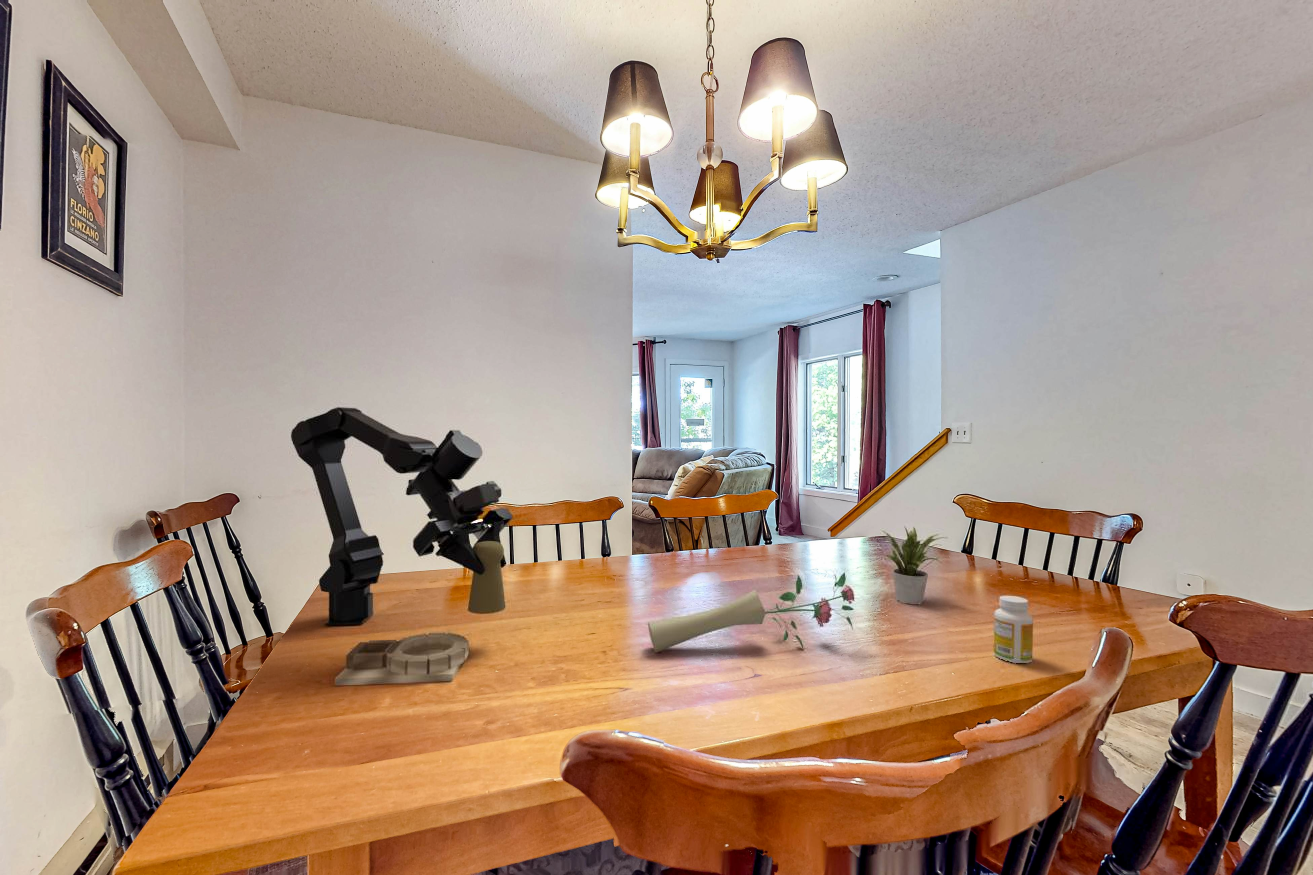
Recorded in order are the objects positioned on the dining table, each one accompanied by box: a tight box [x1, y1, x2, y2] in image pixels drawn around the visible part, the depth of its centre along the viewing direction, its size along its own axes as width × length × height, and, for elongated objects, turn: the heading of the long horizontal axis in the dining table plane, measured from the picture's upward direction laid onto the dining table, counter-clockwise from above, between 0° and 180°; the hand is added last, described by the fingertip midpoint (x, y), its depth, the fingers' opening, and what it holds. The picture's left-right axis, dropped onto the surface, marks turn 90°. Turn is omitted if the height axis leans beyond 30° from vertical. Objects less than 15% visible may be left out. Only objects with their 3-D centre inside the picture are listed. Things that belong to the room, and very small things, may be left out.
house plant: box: [882, 525, 947, 605], centre depth 124 cm, size 14×14×16 cm
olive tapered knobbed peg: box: [467, 541, 507, 615], centre depth 96 cm, size 6×6×11 cm
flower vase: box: [647, 572, 855, 654], centre depth 98 cm, size 12×12×35 cm
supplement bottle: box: [993, 595, 1034, 664], centre depth 95 cm, size 5×5×10 cm
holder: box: [334, 631, 470, 687], centre depth 89 cm, size 17×12×3 cm
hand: (493, 569), depth 96 cm, fingers closed on olive tapered knobbed peg, 5 cm apart
